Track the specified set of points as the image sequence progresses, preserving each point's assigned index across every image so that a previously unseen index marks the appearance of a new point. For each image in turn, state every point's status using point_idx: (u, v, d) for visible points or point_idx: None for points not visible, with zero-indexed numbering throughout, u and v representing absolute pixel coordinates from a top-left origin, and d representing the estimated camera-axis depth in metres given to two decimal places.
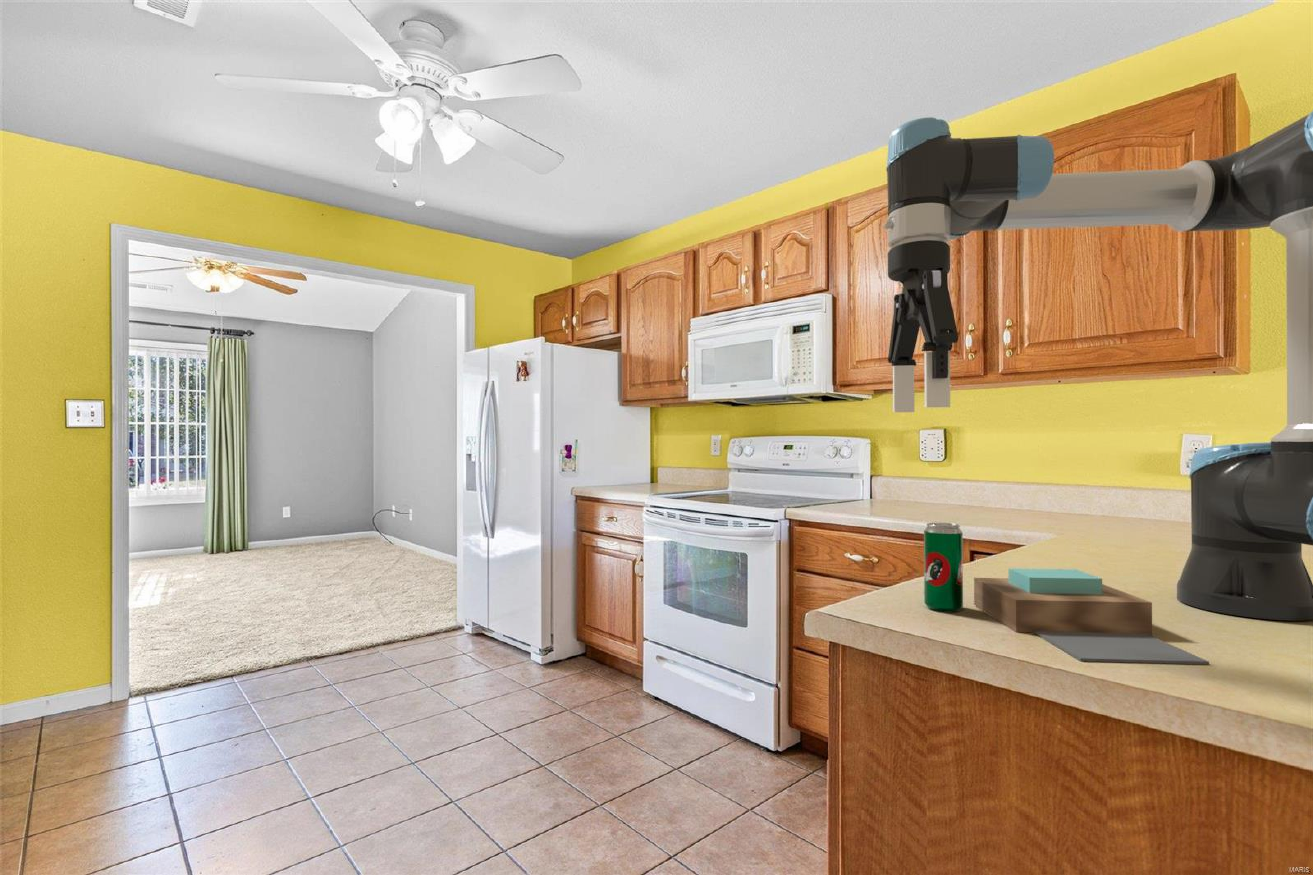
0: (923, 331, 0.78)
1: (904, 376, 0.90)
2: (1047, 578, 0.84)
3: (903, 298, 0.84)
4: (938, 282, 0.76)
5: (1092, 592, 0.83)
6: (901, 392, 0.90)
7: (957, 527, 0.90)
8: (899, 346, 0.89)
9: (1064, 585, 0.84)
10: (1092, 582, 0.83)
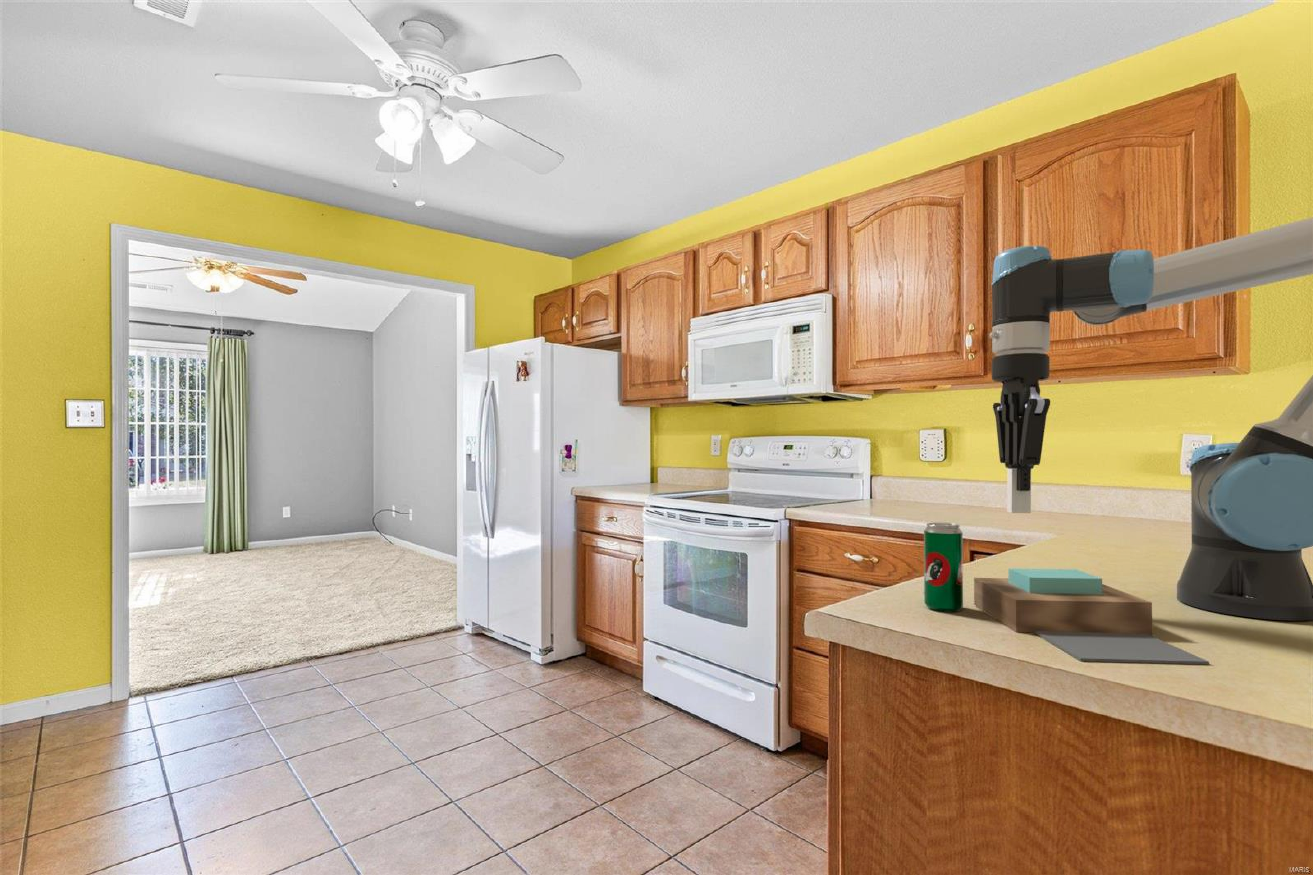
0: (1014, 444, 0.95)
1: None
2: (1047, 578, 0.84)
3: (1005, 396, 0.97)
4: (1039, 411, 0.90)
5: (1092, 592, 0.83)
6: None
7: (957, 527, 0.90)
8: (1010, 444, 0.97)
9: (1064, 585, 0.84)
10: (1092, 582, 0.83)
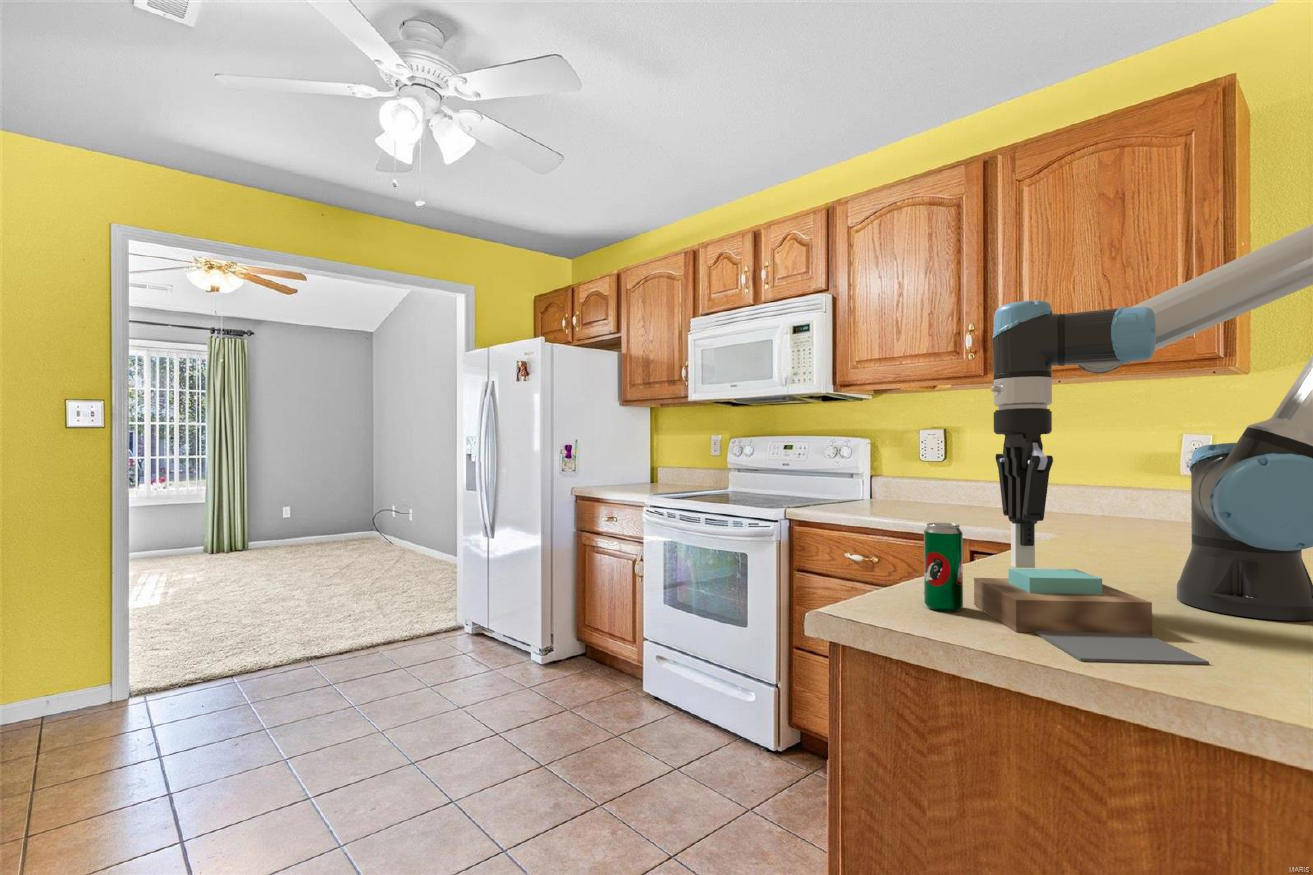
0: (1017, 499, 0.94)
1: None
2: (1047, 578, 0.84)
3: (1008, 449, 0.96)
4: (1042, 468, 0.90)
5: (1092, 592, 0.83)
6: None
7: (957, 527, 0.90)
8: (1013, 497, 0.96)
9: (1064, 585, 0.84)
10: (1092, 582, 0.83)
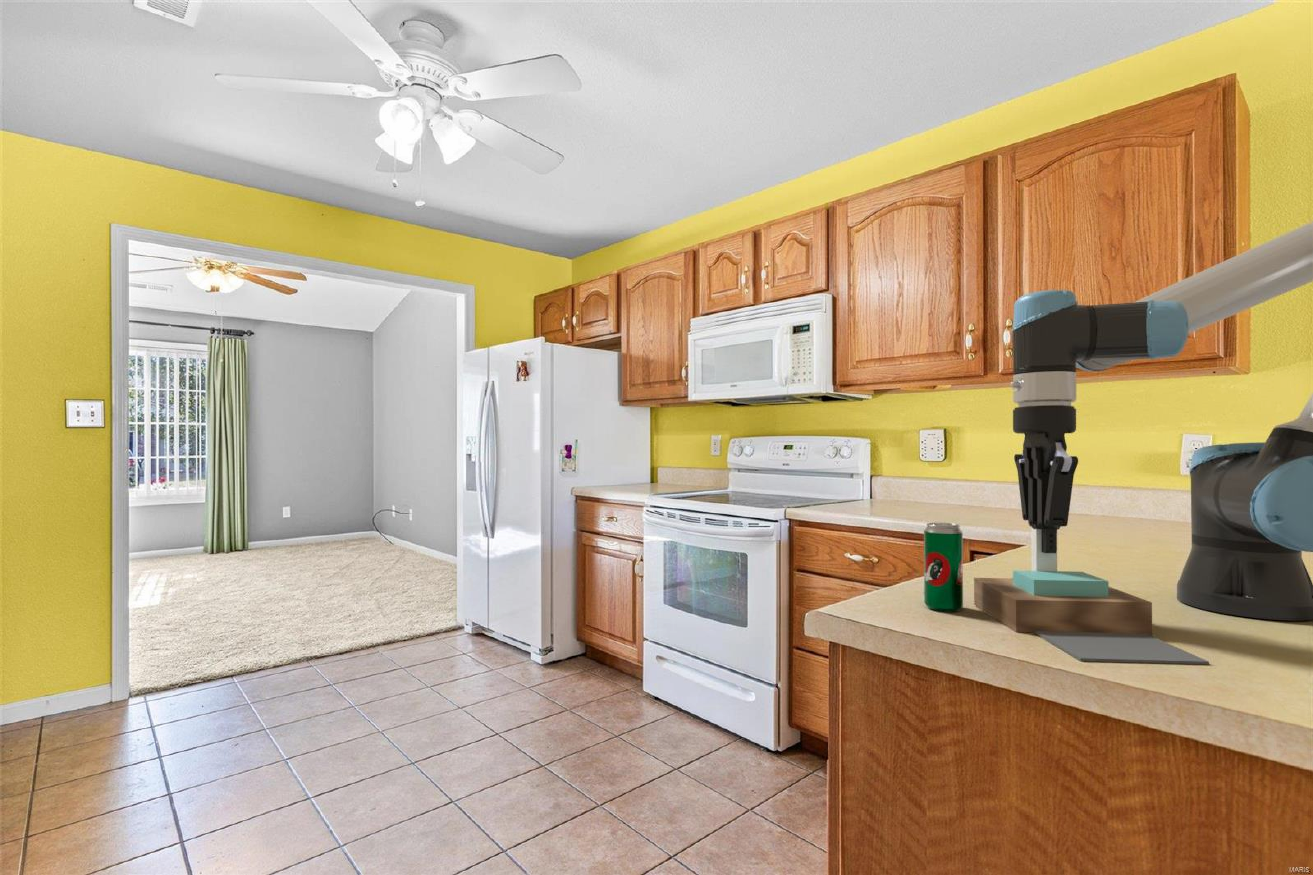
0: (1038, 503, 0.88)
1: None
2: (1052, 580, 0.83)
3: (1028, 449, 0.90)
4: (1066, 470, 0.83)
5: (1098, 595, 0.82)
6: None
7: (957, 527, 0.90)
8: (1034, 501, 0.90)
9: (1069, 588, 0.82)
10: (1098, 585, 0.82)
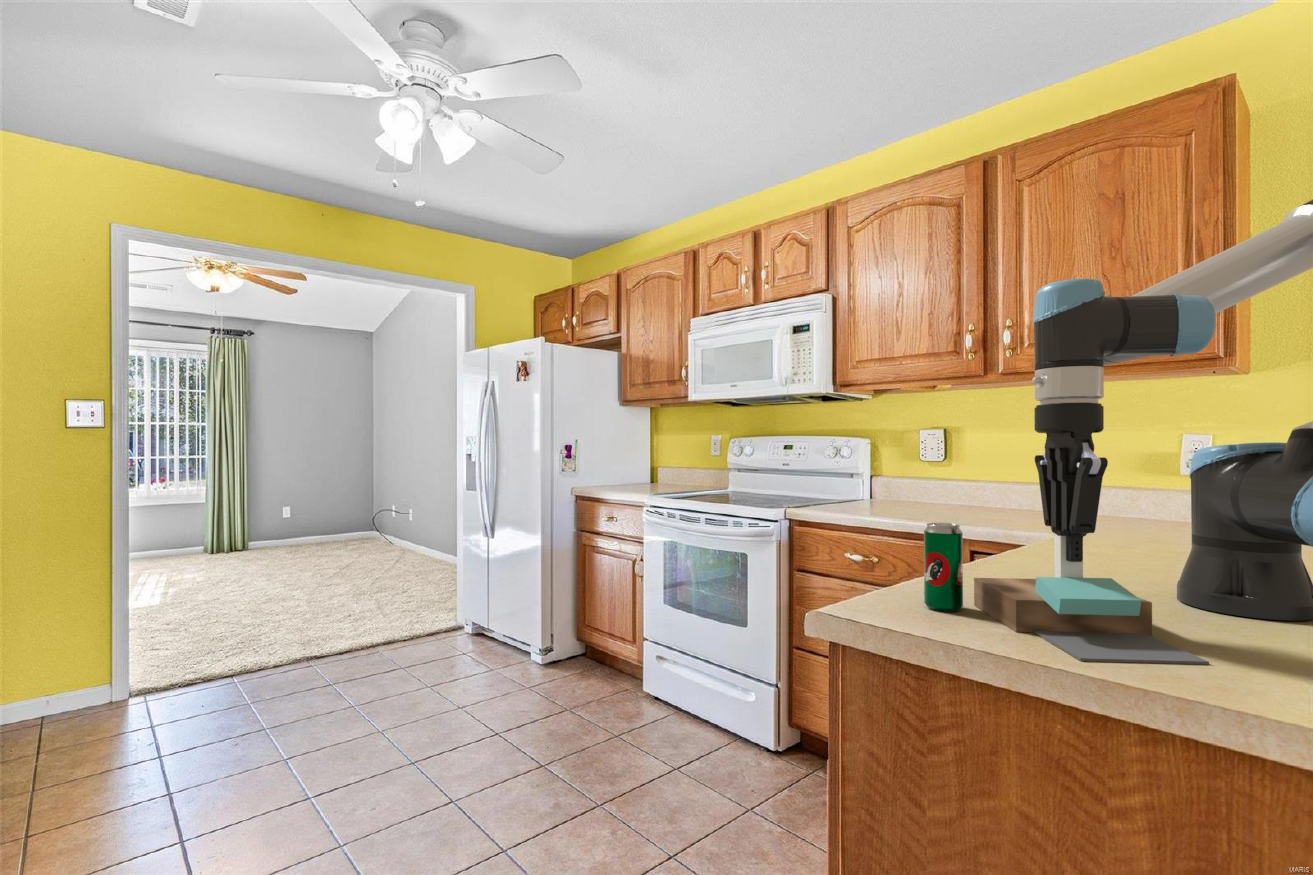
0: (1062, 508, 0.82)
1: None
2: (1080, 599, 0.76)
3: (1051, 450, 0.84)
4: (1095, 472, 0.77)
5: (1128, 614, 0.76)
6: None
7: (957, 527, 0.90)
8: (1057, 505, 0.84)
9: (1098, 606, 0.76)
10: (1130, 604, 0.76)
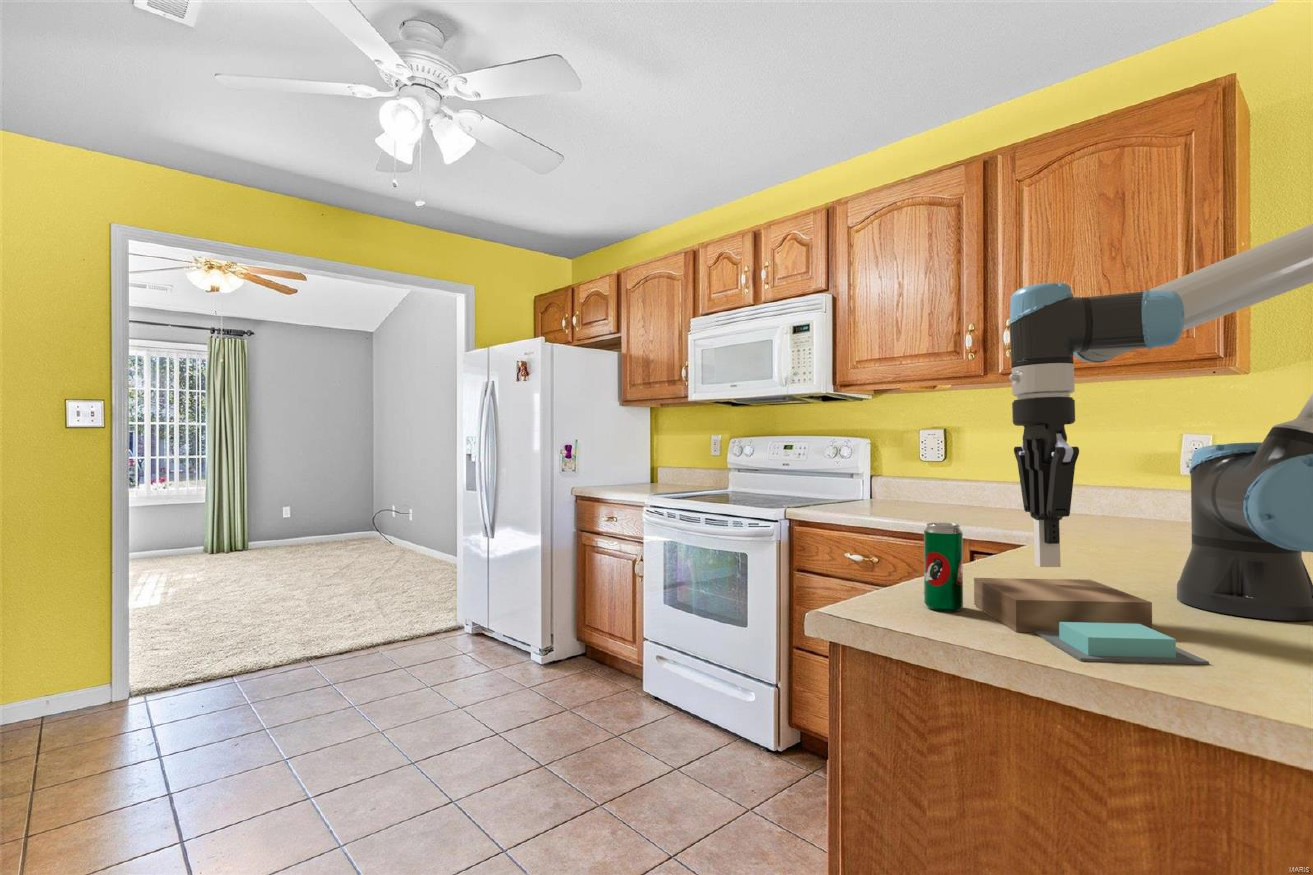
0: (1040, 494, 0.89)
1: None
2: None
3: (1028, 441, 0.91)
4: (1068, 460, 0.84)
5: None
6: None
7: (957, 527, 0.90)
8: (1035, 492, 0.90)
9: None
10: None
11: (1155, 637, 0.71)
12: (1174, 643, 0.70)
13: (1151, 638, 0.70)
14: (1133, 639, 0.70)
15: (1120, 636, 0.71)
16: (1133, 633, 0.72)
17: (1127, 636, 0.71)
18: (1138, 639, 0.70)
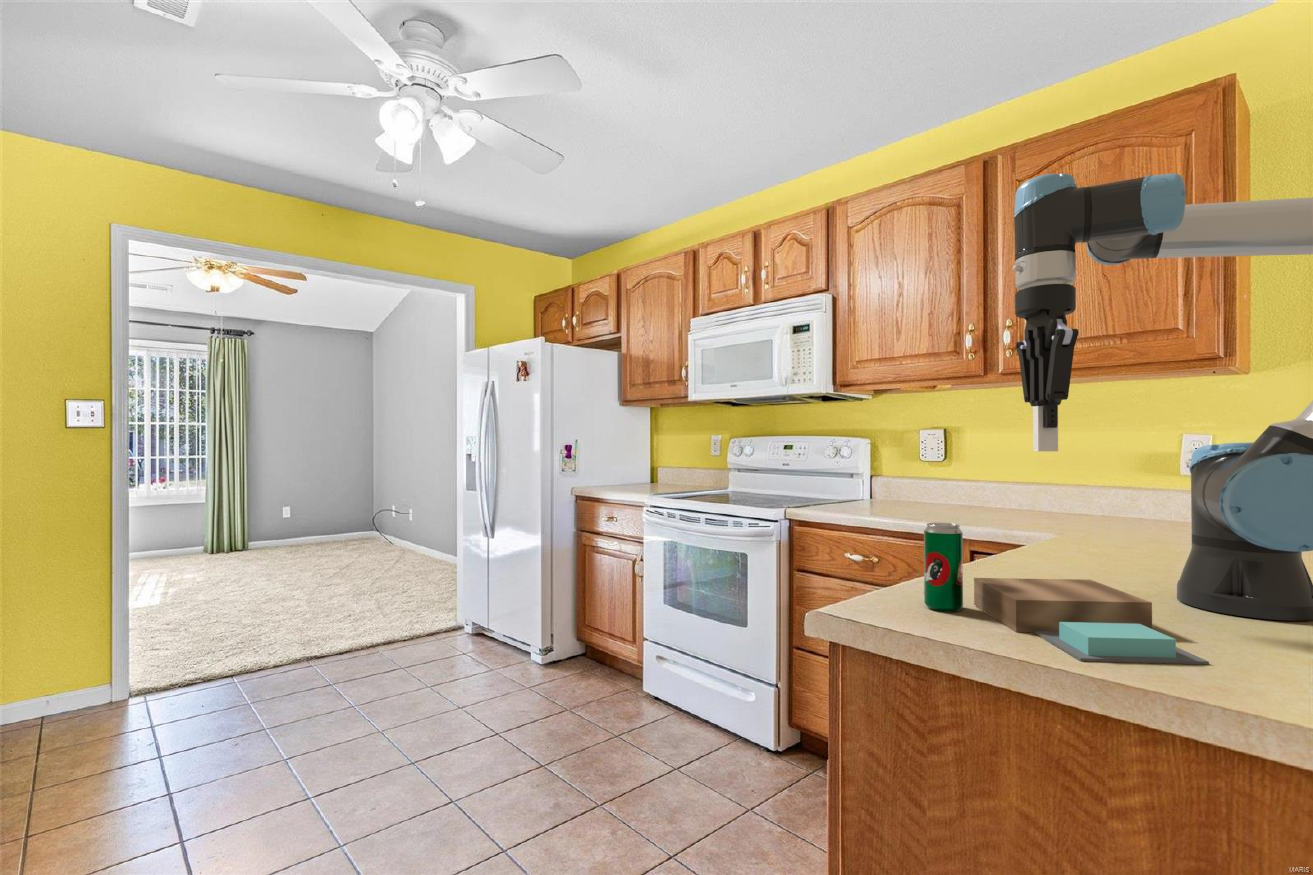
0: (1040, 380, 0.92)
1: None
2: None
3: (1030, 331, 0.94)
4: (1067, 342, 0.87)
5: None
6: None
7: (957, 527, 0.90)
8: (1035, 381, 0.93)
9: None
10: None
11: (1155, 637, 0.71)
12: (1174, 643, 0.70)
13: (1151, 638, 0.70)
14: (1133, 639, 0.70)
15: (1120, 636, 0.71)
16: (1133, 633, 0.72)
17: (1127, 636, 0.71)
18: (1138, 639, 0.70)
